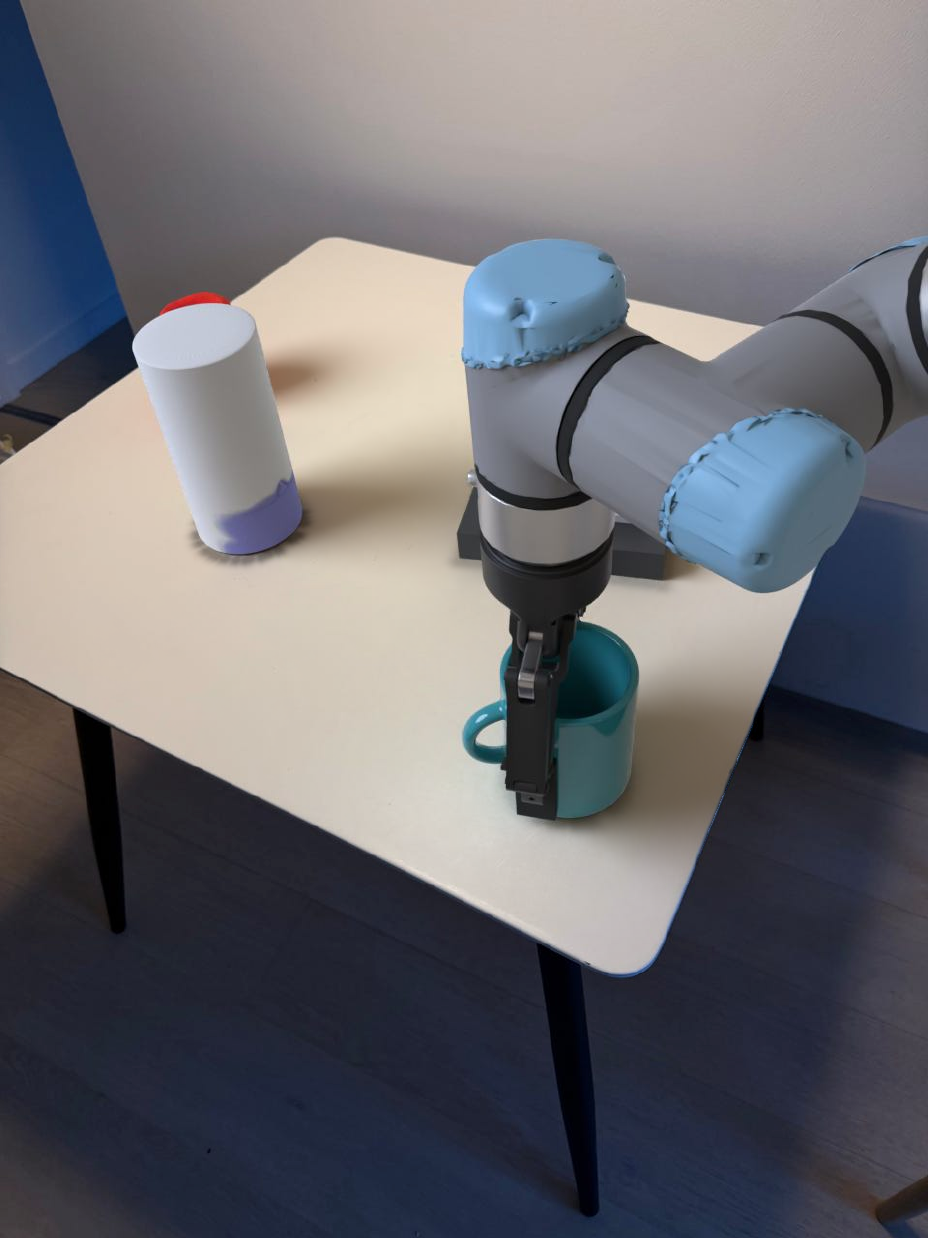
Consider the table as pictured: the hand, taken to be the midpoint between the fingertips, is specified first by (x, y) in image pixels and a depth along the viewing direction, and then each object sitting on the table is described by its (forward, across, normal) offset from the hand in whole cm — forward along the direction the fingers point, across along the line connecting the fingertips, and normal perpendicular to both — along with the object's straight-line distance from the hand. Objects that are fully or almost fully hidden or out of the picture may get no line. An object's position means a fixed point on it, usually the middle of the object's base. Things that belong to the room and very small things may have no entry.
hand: (549, 755), depth 72 cm
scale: (+2, -28, -3) cm, 29 cm away
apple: (+2, -42, -45) cm, 62 cm away
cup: (+1, +1, 0) cm, 2 cm away
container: (+2, -22, -33) cm, 40 cm away
